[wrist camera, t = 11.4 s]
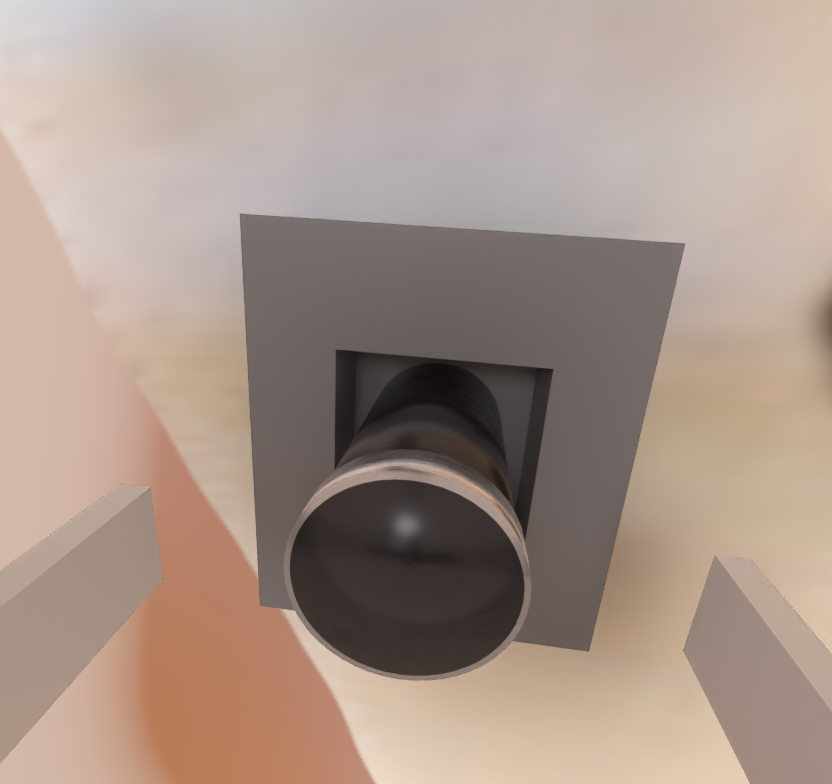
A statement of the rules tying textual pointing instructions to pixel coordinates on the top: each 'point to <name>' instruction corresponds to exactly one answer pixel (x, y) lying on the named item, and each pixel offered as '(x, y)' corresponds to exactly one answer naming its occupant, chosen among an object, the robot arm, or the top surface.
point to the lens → (415, 535)
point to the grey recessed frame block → (466, 348)
